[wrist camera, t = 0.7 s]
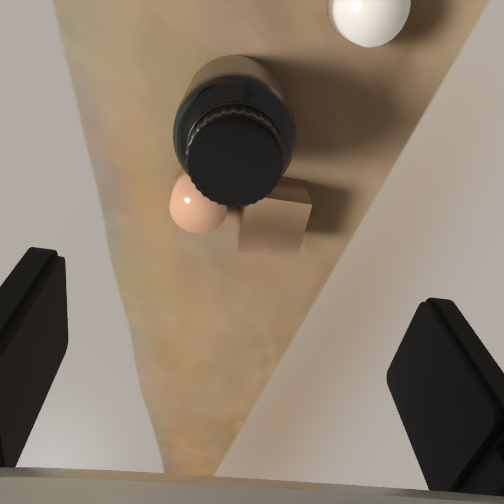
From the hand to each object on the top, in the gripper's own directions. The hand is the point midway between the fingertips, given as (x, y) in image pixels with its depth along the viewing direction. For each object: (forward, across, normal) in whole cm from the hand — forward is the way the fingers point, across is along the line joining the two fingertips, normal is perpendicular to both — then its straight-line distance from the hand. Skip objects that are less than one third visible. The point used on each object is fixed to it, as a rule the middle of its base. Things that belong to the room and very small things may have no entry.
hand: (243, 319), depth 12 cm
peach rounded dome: (+23, +2, +6) cm, 24 cm away
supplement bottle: (+23, 0, 0) cm, 23 cm away
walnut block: (+23, -4, +7) cm, 24 cm away
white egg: (+23, -7, -8) cm, 25 cm away
